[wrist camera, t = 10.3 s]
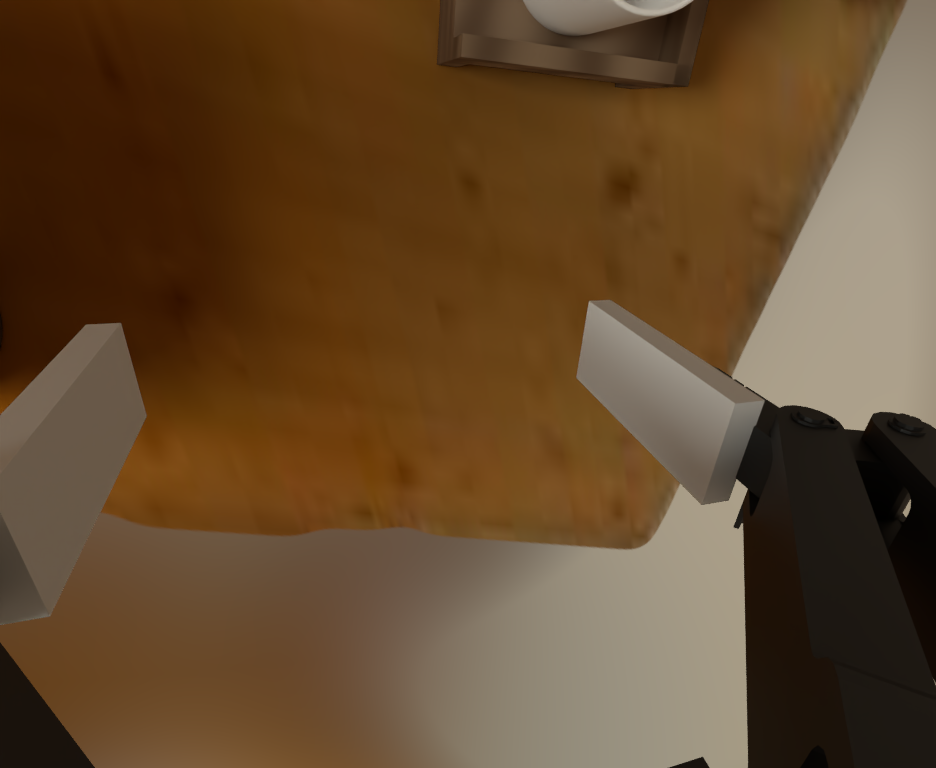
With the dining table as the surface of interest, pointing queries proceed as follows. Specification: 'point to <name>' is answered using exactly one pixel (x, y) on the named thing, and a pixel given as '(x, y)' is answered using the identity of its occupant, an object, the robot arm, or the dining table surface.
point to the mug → (597, 13)
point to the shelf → (571, 44)
